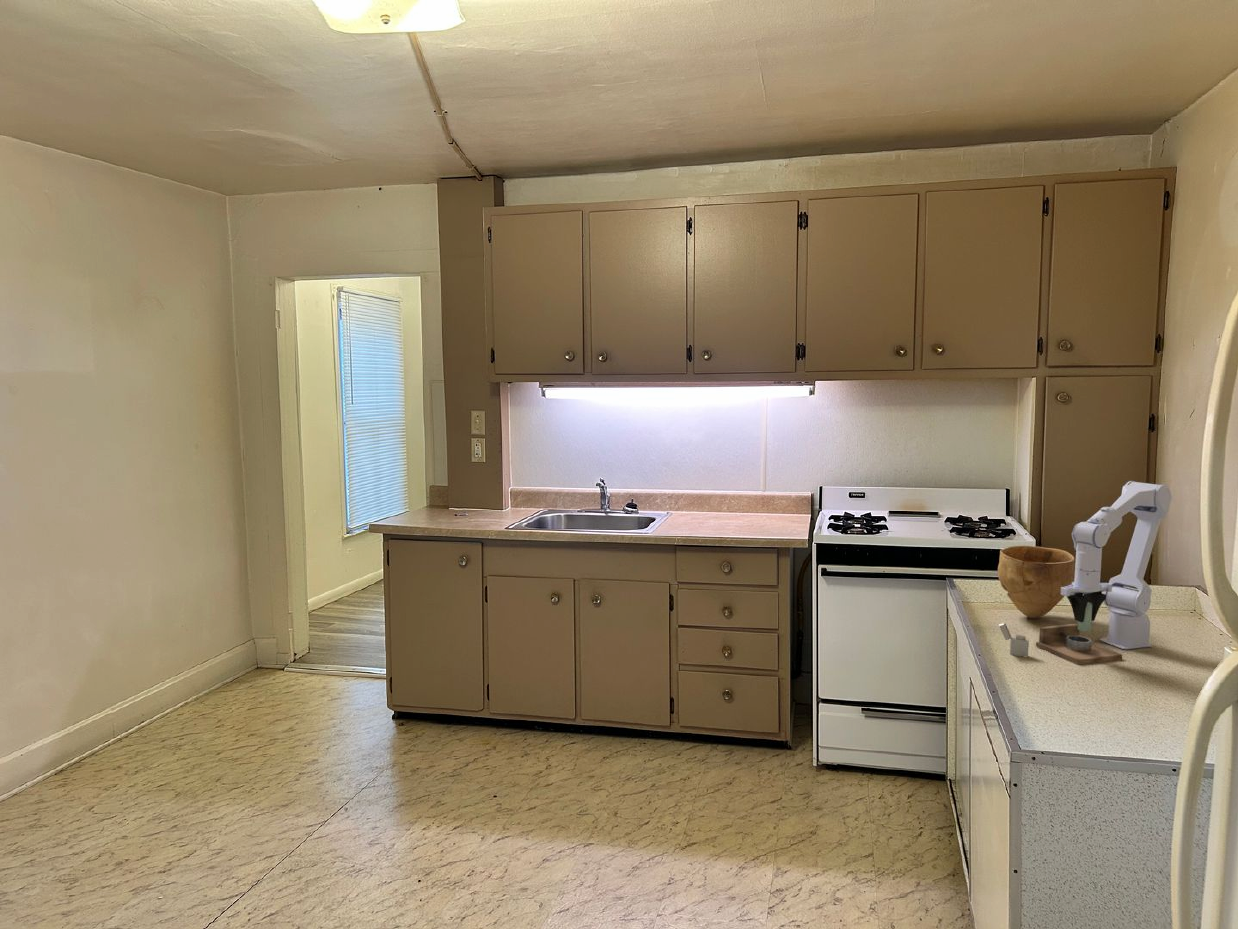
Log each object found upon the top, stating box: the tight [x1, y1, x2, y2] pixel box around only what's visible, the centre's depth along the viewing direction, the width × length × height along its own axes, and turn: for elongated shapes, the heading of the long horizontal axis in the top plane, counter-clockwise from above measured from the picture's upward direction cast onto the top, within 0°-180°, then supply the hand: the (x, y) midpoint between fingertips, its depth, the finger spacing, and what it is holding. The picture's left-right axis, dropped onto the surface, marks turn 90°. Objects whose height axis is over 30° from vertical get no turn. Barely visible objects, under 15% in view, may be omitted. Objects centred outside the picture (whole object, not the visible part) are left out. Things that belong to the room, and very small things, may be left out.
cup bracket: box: [1035, 623, 1123, 666], centre depth 217 cm, size 14×14×5 cm
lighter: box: [998, 622, 1030, 658], centre depth 216 cm, size 7×2×8 cm, turn 59°
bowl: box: [997, 545, 1076, 619], centre depth 246 cm, size 21×20×20 cm
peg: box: [1077, 602, 1092, 632], centre depth 214 cm, size 3×3×7 cm
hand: (1084, 620), depth 214 cm, fingers closed on peg, 3 cm apart
